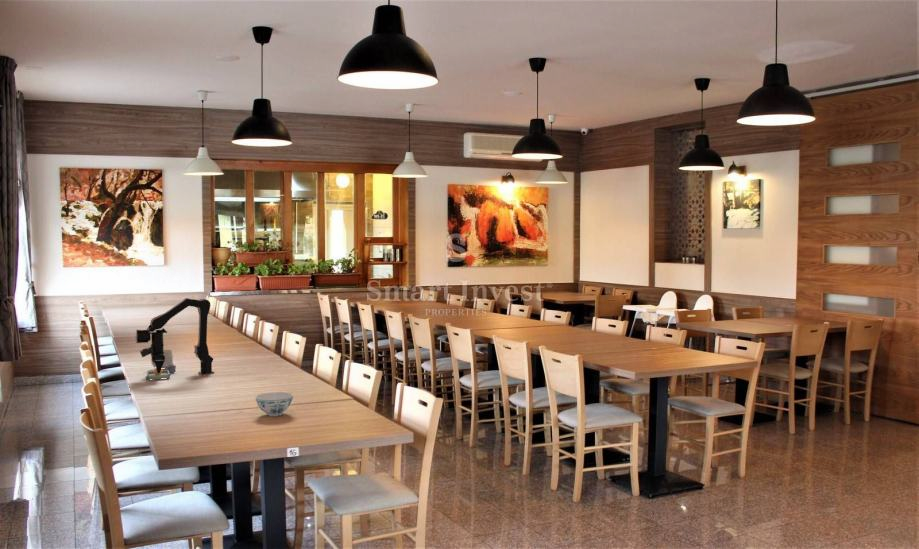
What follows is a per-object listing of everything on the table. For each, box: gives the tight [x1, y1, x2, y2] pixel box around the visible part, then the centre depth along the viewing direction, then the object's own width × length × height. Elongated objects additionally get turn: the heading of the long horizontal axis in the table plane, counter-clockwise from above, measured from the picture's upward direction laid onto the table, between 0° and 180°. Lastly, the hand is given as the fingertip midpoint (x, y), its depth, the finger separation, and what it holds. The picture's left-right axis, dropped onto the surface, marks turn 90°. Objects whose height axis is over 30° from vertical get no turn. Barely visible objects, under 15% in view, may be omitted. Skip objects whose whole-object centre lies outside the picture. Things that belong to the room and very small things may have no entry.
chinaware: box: [255, 391, 294, 417], centre depth 320 cm, size 15×15×8 cm
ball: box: [153, 367, 163, 375], centre depth 407 cm, size 4×4×4 cm
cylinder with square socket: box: [164, 364, 177, 374], centre depth 421 cm, size 5×5×4 cm
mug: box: [150, 349, 175, 368], centre depth 435 cm, size 8×12×12 cm, turn 120°
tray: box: [146, 369, 171, 381], centre depth 408 cm, size 15×11×2 cm
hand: (158, 371), depth 407 cm, fingers open, 9 cm apart
